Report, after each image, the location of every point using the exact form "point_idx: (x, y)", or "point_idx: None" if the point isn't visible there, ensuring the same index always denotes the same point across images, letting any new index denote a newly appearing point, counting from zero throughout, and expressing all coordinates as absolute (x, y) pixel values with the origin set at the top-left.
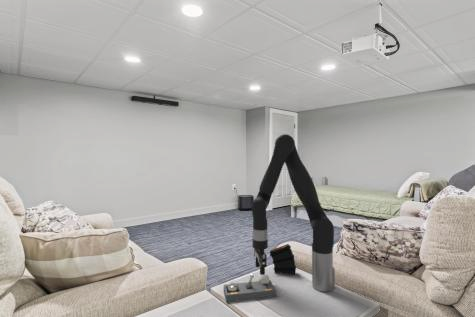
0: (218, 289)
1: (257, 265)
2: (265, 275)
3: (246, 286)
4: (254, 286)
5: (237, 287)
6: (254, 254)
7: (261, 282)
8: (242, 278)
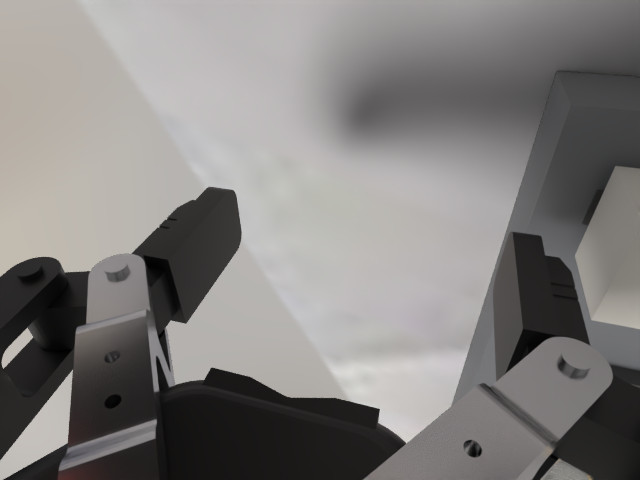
0: (404, 438)
1: (228, 236)
2: (627, 261)
3: None
4: (621, 344)
5: (578, 477)
6: (58, 360)
7: (571, 243)
8: (276, 271)
